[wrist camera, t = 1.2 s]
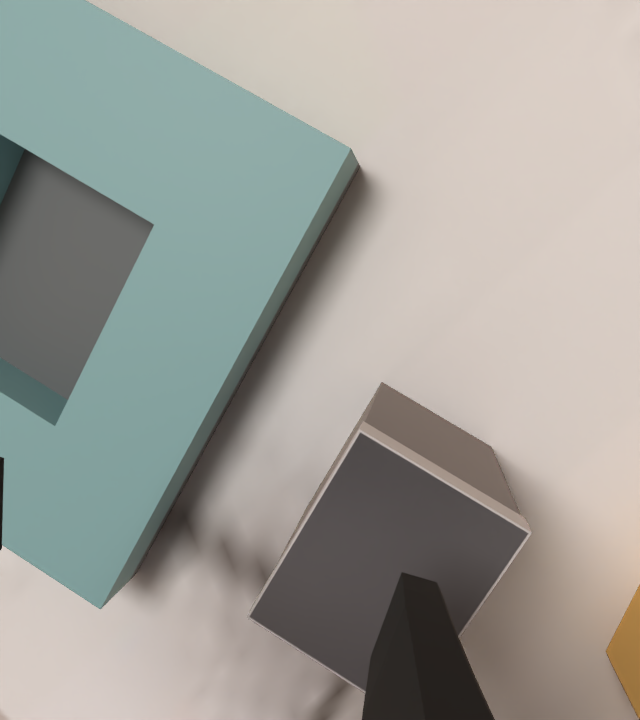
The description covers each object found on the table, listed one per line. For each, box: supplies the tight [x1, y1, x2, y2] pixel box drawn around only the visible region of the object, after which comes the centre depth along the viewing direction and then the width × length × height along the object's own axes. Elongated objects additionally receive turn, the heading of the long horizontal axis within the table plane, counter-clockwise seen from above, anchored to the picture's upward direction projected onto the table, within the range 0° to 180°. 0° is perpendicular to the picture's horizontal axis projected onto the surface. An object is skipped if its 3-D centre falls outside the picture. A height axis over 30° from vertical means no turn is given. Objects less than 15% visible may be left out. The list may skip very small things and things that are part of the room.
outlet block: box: [0, 0, 360, 609], centre depth 20 cm, size 14×16×2 cm
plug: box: [247, 382, 532, 693], centre depth 17 cm, size 4×5×7 cm
